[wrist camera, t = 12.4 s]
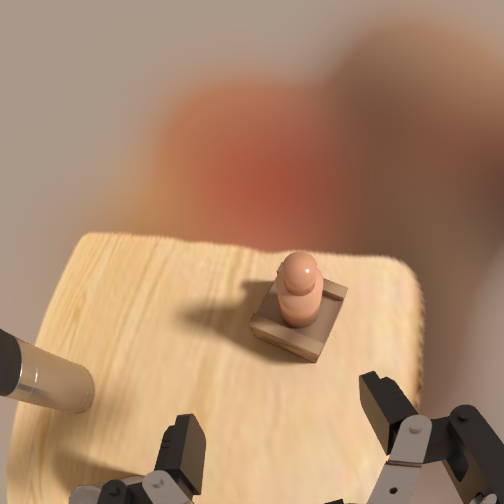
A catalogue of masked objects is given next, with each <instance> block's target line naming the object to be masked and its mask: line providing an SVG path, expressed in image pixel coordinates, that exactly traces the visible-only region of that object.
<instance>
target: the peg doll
mask: <svg viewBox="0 0 504 504" xmlns="http://www.w3.org/2000/svg"><path fill="white" fill-rule="evenodd" d="M323 284H324V281H323V276H322V274H321V272H320V271H319V269H318V268H317V263H316V261H315V259H314V258H313V257H312V256H311V255H310V254H308V253H306V252H294V253H292V254H290V255H288V256H287V257H286V258H285V260H284V262H283V268H282V269H281V271H280V272H279V274H278V276H277V279H276V287H277V293H278V300H279V306H280V312H281V317H282V319H283V320H284V322H285V323H286V324H287V325H289V326H291V327H293V328H305V327H308V326H310V325H311V324H313V323H314V322H315V320H316V319H317V317H318V314H319V309H320V303H321V297H322V291H323Z"/></svg>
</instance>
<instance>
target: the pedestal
mask: <svg viewBox="0 0 504 504" xmlns="http://www.w3.org/2000/svg"><path fill="white" fill-rule="evenodd" d="M282 268H283V262H282V263H281V265H280V267H279V268H278V270H277V276H278V274H279V272H280V271H281V269H282ZM276 279H277V277H276ZM276 279H275V281H274V283H273V285H272V286H271V288H270V290H269V292H268V294H267V296H266V298H265V299H264V301H263V303H262V305H261V307H260V308H259V310H258V312H257V314H255V313H254V314H253V316H252V318H251V319H250V321H249V323H248V324H249V326H250V328H251V330H252V331H253V333H254V335H255V336H256V337H258V338H261V339H263V340H265V341H267V342H269V343H271V344H273V345H276V346H278V347H280V348H282V349H284V350H287V351H289V352H291V353H293V354H296V355H298V356H300V357H302V358H305V359H307V360H309V361H312V362H314V363H316V362H317V360H318V358H319V356H320V354H321V352H322V350H323V347H324V345H325V343H326V341H327V339H328V336H329V334H330V332H331V330H332V328H333V325H334V323H335V321H336V318H337V316H338V314H339V311H340V309H341V307H342V304H343V301H344V298H345V295H346V292H347V289H348V288H347V287H345V286H342V285H340V284H337V283H334V282H332V281H329V280H327V279H324V278H323V281H324V284H323V291H322V297H321V303H320V309H319V314H318V317H317V319H316V320H315V322H314V323H313V324H311V325H310V326H308V327H305V328H293V327H291V326H289V325H287V324H286V323H285V322H284V320H283V319H282V317H281V312H280V306H279V300H278V293H277V287H276Z"/></svg>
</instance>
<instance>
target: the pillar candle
mask: <svg viewBox="0 0 504 504" xmlns="http://www.w3.org/2000/svg"><path fill="white" fill-rule="evenodd" d="M144 477H145V476H133V477H129V478H124V479H119V480H120V481H122V482H124V483H125V484H126V485H130V484H135V483H139V482H143V479H144ZM105 483H107V482H102V483H97V484H93V485H84V486H77V487H76V488H75V490H74V491H73V492H72V494H71V495H70V498H69V504H97V502H98V498H99V495H100V492H101V489H102V487H103V485H104V484H105Z"/></svg>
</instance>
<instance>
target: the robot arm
mask: <svg viewBox="0 0 504 504" xmlns="http://www.w3.org/2000/svg"><path fill="white" fill-rule="evenodd" d="M359 389H360V401H361V405H362V408H363V410H364V412H365V414H366V416H367V418H368V420H369V422H370V424H371V426H372V428H373V430H374V432H375V434H376V436H377V438H378V440H379V441H380V443H381V445H382V447H383V450H384V452H385V454H386V456H387V455H390V457H389V459H388V461H386V463H385V464H384V467H383V469H382V471H381V474H380V476H379V478H378V481H377V483H376V485H375V487H374V489H373V492H372V494H371V496H370V498H369V500H368V502H367V504H409V503H410V500H411V498H412V495H413V492H414V489H415V486H416V483H417V480H418V477H419V474H420V471H421V467H422V464H426V463H431V462H436V461H440V460H441V461H442V463H443V464H444V466H445V468H446V470H447V472H448V474H449V476H450V478H451V480H452V482H453V483H454V485H455V487H456V489H457V491H458V493H459V495H460V497H461V499H462V501H463V503H464V504H504V444H503V443H502V441H501V440H500V439H499V437H498V436H497V435H496V433H495V432H494V431H493V429H492V428H491V427H490V425H489V424H488V423H487V422H486V420H485V419H484V418H483V416H482V415H481V414H480V413H479V411H478V410H477V409H476V408H475V407H473V406H471V405H460V406H458V407H456V408H455V409H453V410H452V412H451V414H450V416H448V417H443V418H439V419H429V418H427V417H426V416H423V415H419V414H418V413H417V411H416V410H415V408H414V407H413V406H412V404H411V403H410V401H409V400H408V399H407V397H406V396H405V395H404V393H403V392H402V390H401V389H400V388H399V386H398V385H397V383H396V382H395V381H394V380H392V379H390V378H388V377H384V378H382V379H380V378H379V377H378V375H377V374H376V372H375V371H371V372H368V373H366V374H363V375H360V376H359ZM0 395H1V396H4V397H8V398H11V399H15V400H18V401H22V402H26V403H30V404H34V405H39V406H43V407H48V408H53V409H58V410H63V411H68V412H75V413H80V412H83V411H85V410H86V409H87V408H88V407H89V406H90V405H91V403H92V400H93V397H94V383H93V379H92V377H91V374H90V373H89V372H88V370H87V369H86V368H85V367H83V366H81V365H78V364H76V363H73V362H71V361H68V360H66V359H63V358H61V357H58V356H56V355H54V354H51V353H49V352H47V351H44V350H42V349H40V348H38V347H36V346H33V345H31V344H29V343H27V342H24V341H23V340H20V339H19V338H17V337H15V336H13V335H11V334H9V333H7V332H5V331H3V330H2V329H0ZM160 448H161V449H160V450H159V454H158V457H157V461H156V465H155V469H154V471H153V472H150V473H149V474H147V475H146V476H145V477H144V479H143V482H139V483H135V484H130V485H126V484H125V483H124V482H122V481H120V480H111V481H108V482H107V483H105V484H104V485H103V487H102V489H101V492H100V495H99V498H98V502H97V504H194V503H193V502H192V498H193V495H201V488H202V478H203V469H204V459H205V450H206V438H205V434H204V432H203V430H202V429H201V427H200V425H199V423H198V421H197V419H196V417H195V416H194V414H184V415H178V416H177V418H176V422H175V425H173V426H169V427H168V429H167V430H166V431H165V432H164V435H163V439H162V442H161V446H160ZM325 504H344V503H343V499H339V500H336V501H332V502H329V503H325ZM348 504H355V503H348Z"/></svg>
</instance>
